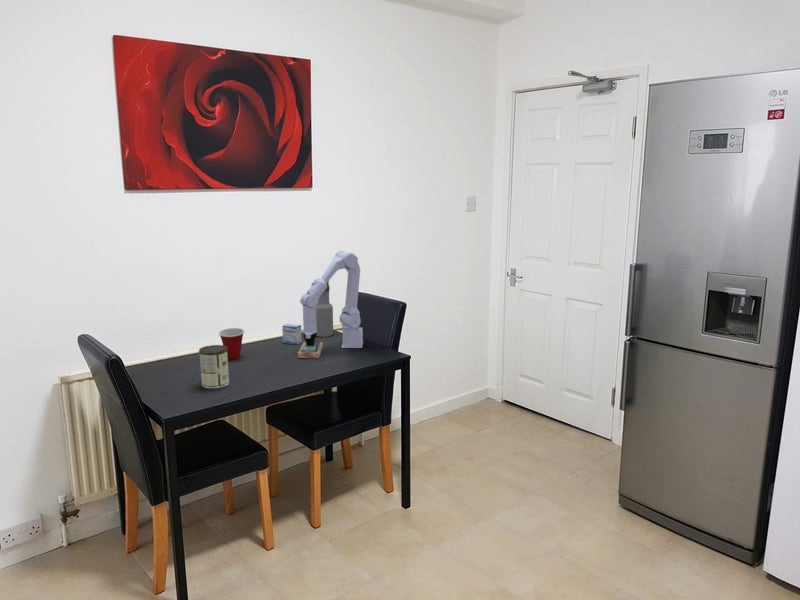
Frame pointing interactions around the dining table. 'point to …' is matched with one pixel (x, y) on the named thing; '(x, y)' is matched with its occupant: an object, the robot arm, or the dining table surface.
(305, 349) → the block
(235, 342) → the plastic cup
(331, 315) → the water bottle
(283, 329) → the medicine box
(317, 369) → the dining table surface
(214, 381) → the coffee can
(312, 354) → the wooden tray
